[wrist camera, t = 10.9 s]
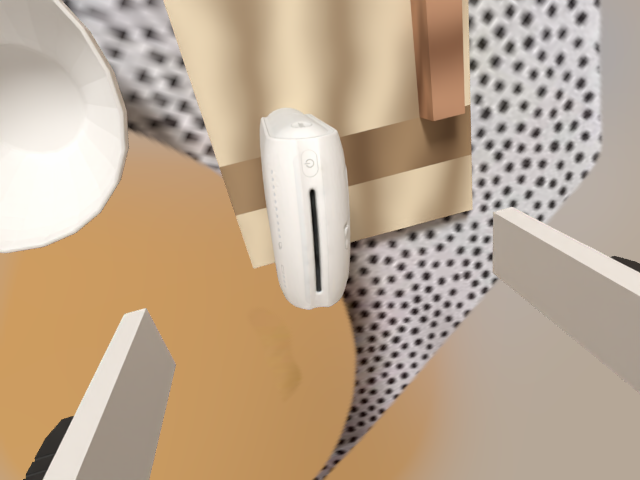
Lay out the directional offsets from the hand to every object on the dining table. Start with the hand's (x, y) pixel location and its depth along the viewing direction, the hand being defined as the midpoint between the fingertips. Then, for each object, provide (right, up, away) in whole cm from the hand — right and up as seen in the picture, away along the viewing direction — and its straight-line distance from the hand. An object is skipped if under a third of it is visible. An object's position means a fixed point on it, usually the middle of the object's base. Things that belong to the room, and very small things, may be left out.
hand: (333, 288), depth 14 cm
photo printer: (-3, +7, +15) cm, 17 cm away
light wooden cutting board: (+1, +13, +15) cm, 19 cm away
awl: (+7, +18, +12) cm, 22 cm away
